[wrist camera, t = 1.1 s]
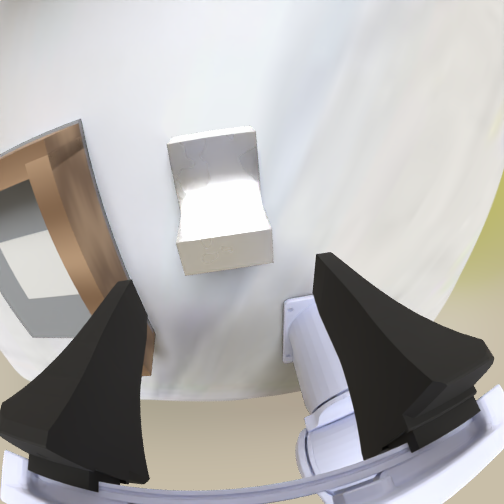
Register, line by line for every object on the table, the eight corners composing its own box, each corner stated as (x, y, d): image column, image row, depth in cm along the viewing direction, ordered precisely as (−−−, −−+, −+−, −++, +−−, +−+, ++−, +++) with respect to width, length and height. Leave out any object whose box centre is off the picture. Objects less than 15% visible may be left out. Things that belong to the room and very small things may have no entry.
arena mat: (153, 330, 23) (152, 334, 22) (33, 334, 22) (32, 338, 21) (80, 118, 12) (77, 120, 12) (-47, 183, 11) (-50, 185, 11)
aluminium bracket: (258, 216, 18) (273, 262, 14) (189, 226, 18) (185, 275, 14) (250, 125, 15) (266, 144, 11) (171, 136, 14) (156, 160, 10)
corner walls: (155, 334, 23) (151, 375, 20) (36, 338, 22) (24, 370, 19) (81, 121, 12) (43, 139, 9) (-46, 185, 11) (-77, 210, 8)
